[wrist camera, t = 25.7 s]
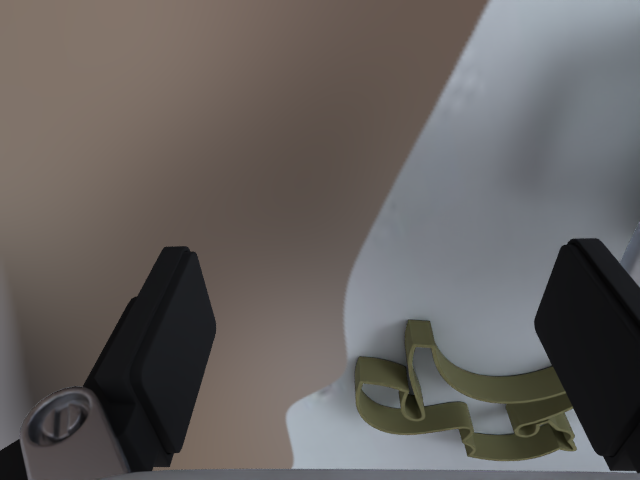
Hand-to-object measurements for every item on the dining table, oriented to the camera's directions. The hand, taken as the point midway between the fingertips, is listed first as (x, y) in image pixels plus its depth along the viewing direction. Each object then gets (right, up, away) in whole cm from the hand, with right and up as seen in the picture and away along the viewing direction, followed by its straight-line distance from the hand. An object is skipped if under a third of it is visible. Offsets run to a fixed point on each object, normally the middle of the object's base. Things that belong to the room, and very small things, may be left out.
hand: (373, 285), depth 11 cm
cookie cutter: (+10, -10, +20) cm, 25 cm away
